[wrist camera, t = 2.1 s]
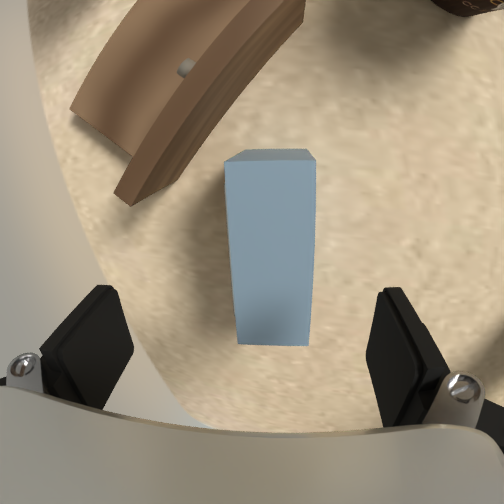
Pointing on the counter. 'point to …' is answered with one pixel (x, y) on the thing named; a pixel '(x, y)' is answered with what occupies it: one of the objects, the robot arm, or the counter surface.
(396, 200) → the counter surface
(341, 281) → the counter surface
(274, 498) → the robot arm
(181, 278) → the counter surface
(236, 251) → the light blue block
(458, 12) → the coffee mug
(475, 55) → the counter surface
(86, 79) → the shelf
